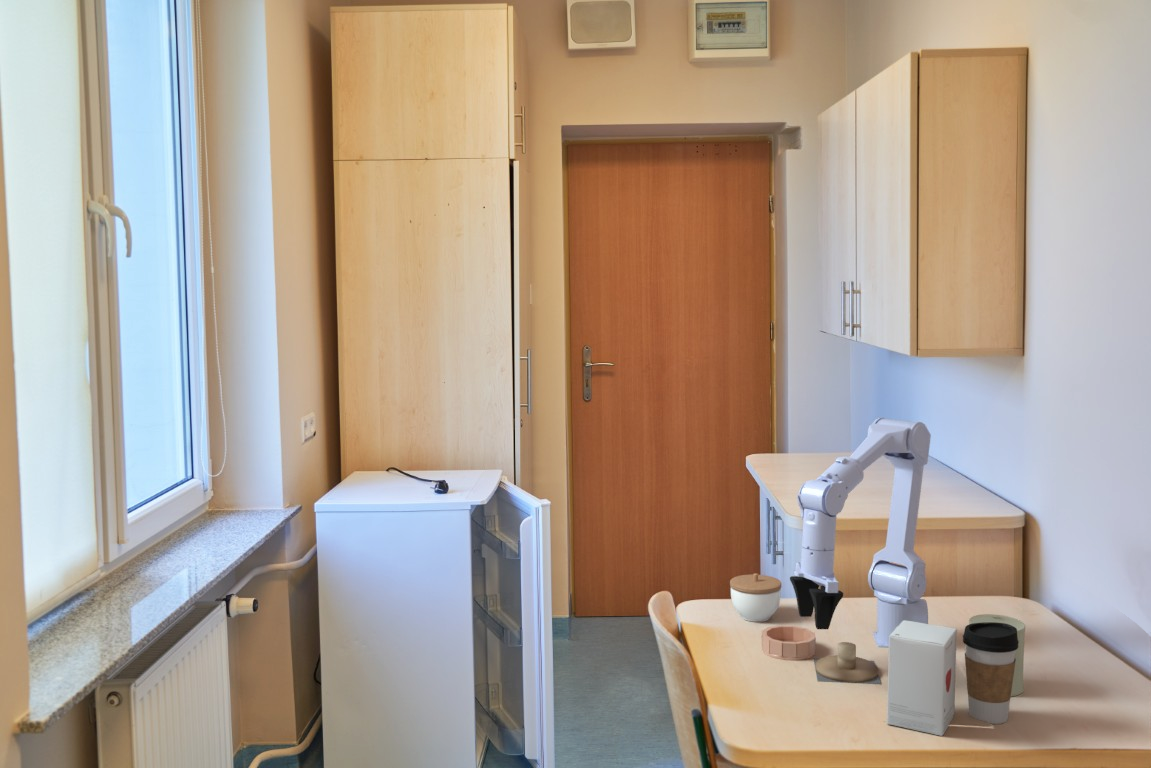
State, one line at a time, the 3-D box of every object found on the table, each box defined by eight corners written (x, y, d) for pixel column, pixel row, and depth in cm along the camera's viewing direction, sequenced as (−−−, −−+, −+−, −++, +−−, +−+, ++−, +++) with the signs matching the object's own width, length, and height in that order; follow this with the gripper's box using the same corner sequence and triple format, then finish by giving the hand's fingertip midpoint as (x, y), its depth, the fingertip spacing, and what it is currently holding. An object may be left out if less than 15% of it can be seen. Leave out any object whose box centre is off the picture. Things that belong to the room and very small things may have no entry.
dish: (813, 644, 202) (813, 626, 202) (816, 663, 193) (816, 644, 192) (761, 642, 204) (761, 624, 204) (762, 660, 194) (762, 642, 194)
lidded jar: (791, 617, 218) (792, 574, 217) (758, 629, 211) (758, 584, 210) (752, 605, 226) (752, 563, 225) (719, 616, 220) (719, 573, 219)
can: (1021, 679, 184) (1023, 614, 182) (1025, 699, 175) (1028, 631, 174) (966, 673, 187) (967, 609, 185) (967, 693, 178) (969, 626, 177)
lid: (874, 660, 192) (874, 636, 192) (881, 684, 182) (882, 657, 181) (813, 658, 194) (813, 633, 194) (817, 681, 183) (817, 655, 183)
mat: (874, 662, 192) (874, 660, 192) (881, 686, 182) (881, 684, 182) (813, 660, 194) (813, 658, 194) (817, 683, 183) (817, 680, 183)
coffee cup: (1021, 729, 164) (1024, 637, 162) (965, 725, 166) (967, 634, 164) (1010, 707, 172) (1013, 620, 170) (956, 704, 174) (959, 617, 172)
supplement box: (943, 737, 161) (945, 645, 160) (885, 725, 166) (887, 635, 165) (956, 716, 169) (958, 627, 168) (900, 705, 174) (902, 618, 172)
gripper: (782, 538, 191) (777, 611, 192) (812, 556, 177) (808, 634, 178) (818, 539, 192) (813, 611, 193) (851, 556, 178) (846, 634, 179)
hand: (813, 622), depth 185 cm, fingers open, 7 cm apart
